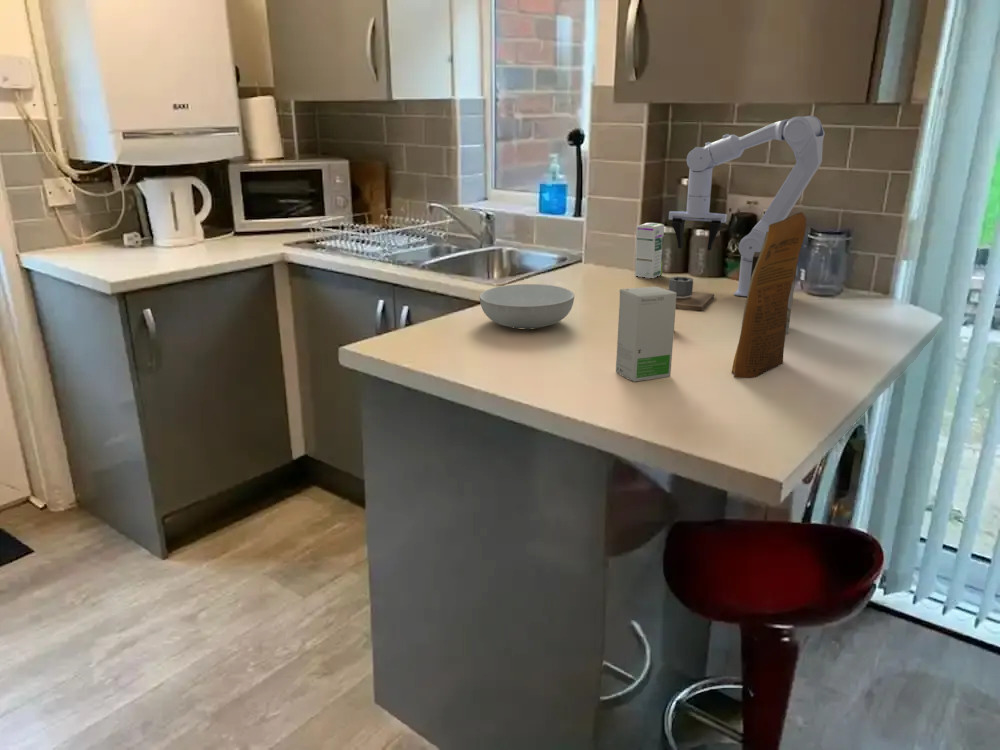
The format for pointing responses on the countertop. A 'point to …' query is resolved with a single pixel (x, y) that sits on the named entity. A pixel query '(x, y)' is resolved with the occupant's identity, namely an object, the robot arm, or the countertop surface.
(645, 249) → the syrup box
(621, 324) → the skincare box
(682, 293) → the ring
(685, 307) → the board
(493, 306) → the serving bowl
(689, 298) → the piston post
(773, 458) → the countertop surface
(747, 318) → the pancake mix bag
